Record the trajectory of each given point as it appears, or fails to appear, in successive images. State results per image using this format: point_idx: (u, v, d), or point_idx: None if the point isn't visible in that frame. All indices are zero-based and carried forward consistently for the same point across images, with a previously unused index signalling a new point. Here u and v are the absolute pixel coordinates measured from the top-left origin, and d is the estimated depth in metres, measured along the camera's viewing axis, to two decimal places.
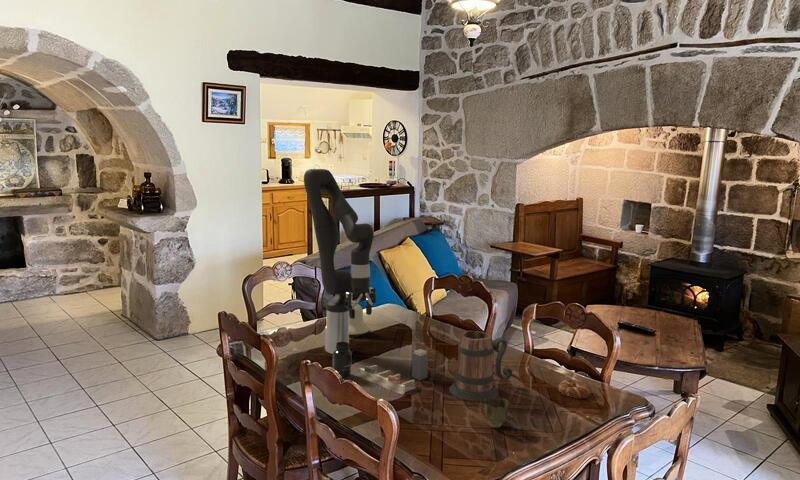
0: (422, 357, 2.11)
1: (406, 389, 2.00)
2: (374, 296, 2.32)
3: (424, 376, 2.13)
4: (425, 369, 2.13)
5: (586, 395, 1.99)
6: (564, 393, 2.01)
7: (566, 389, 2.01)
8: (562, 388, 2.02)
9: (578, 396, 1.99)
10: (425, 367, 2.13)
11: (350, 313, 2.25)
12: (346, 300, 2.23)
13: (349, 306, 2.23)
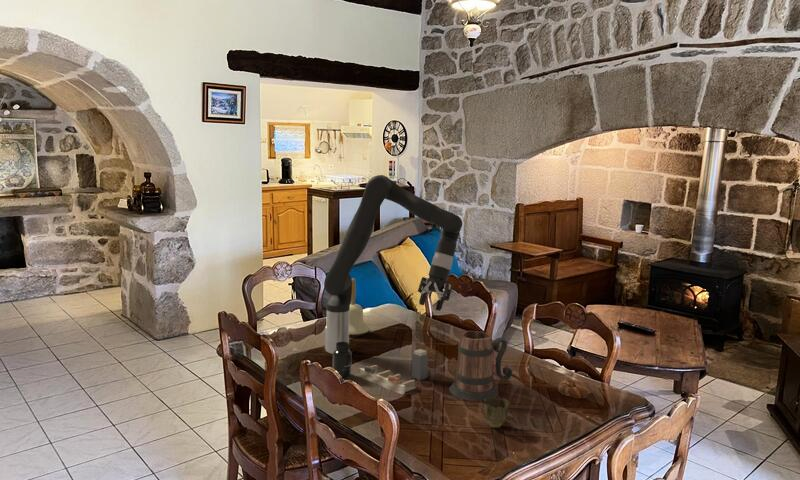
0: (422, 357, 2.11)
1: (406, 389, 2.00)
2: None
3: (424, 376, 2.13)
4: (425, 369, 2.13)
5: (586, 395, 1.99)
6: (564, 393, 2.01)
7: (566, 389, 2.01)
8: (562, 388, 2.02)
9: (578, 396, 1.98)
10: (425, 367, 2.13)
11: (441, 305, 2.18)
12: (448, 292, 2.17)
13: None
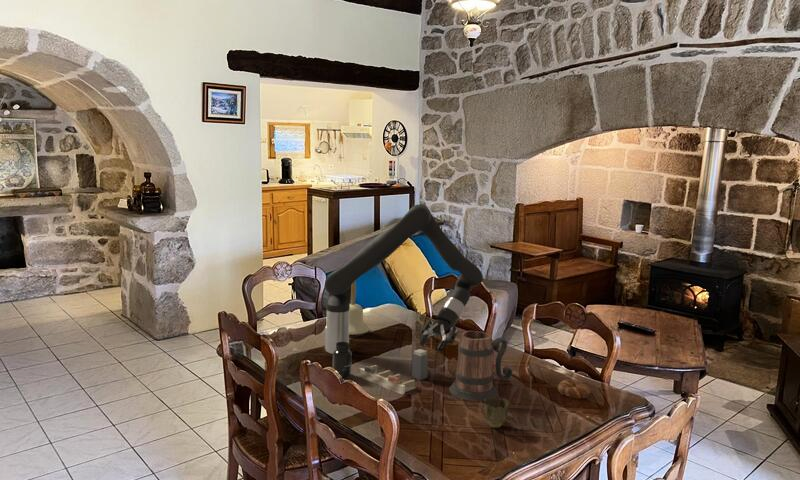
0: (422, 357, 2.11)
1: (406, 389, 2.00)
2: None
3: (424, 376, 2.13)
4: (425, 369, 2.13)
5: (585, 395, 1.99)
6: (563, 393, 2.01)
7: (566, 389, 2.01)
8: (562, 388, 2.02)
9: (577, 396, 1.98)
10: (425, 367, 2.13)
11: (443, 346, 2.14)
12: (453, 335, 2.14)
13: None
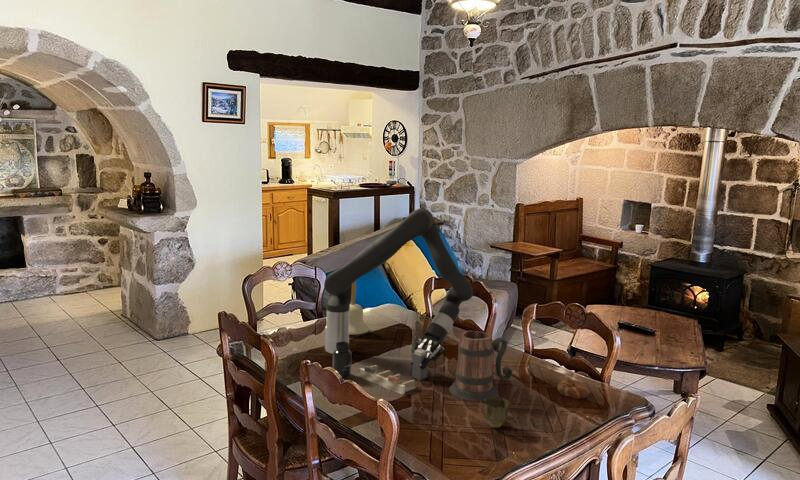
0: (422, 357, 2.11)
1: (406, 389, 2.00)
2: None
3: (424, 376, 2.13)
4: (425, 369, 2.13)
5: (585, 395, 1.99)
6: (563, 393, 2.01)
7: (565, 389, 2.01)
8: (561, 388, 2.02)
9: (577, 396, 1.98)
10: None
11: (426, 364, 2.11)
12: (438, 354, 2.11)
13: None
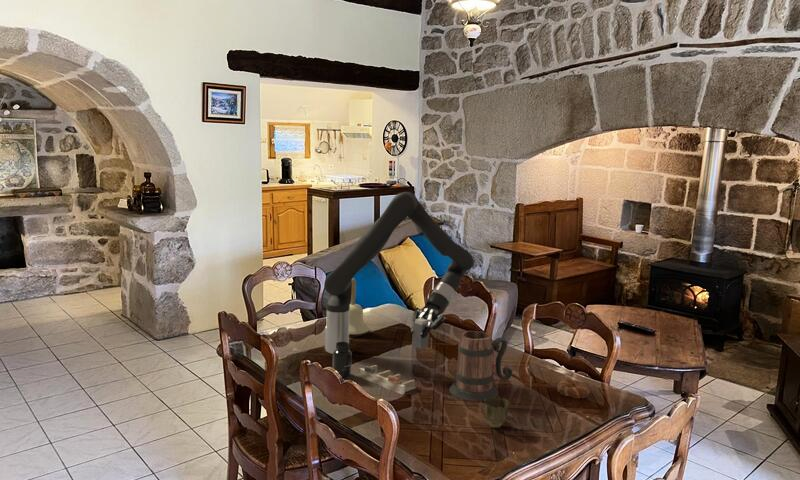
0: (423, 326, 2.09)
1: (406, 389, 2.00)
2: None
3: (425, 345, 2.11)
4: (426, 338, 2.11)
5: (585, 395, 1.99)
6: (563, 393, 2.01)
7: (565, 389, 2.01)
8: (561, 388, 2.02)
9: (577, 396, 1.98)
10: (426, 336, 2.11)
11: (427, 333, 2.09)
12: (439, 323, 2.09)
13: None
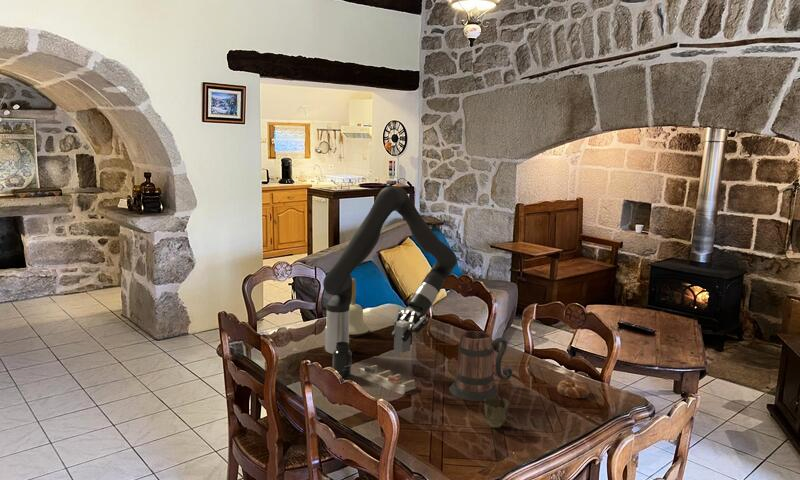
0: (404, 328, 1.99)
1: (406, 389, 2.00)
2: None
3: (407, 349, 2.01)
4: (408, 341, 2.01)
5: (585, 395, 1.99)
6: (563, 393, 2.01)
7: (565, 389, 2.01)
8: (561, 388, 2.02)
9: (577, 396, 1.98)
10: (408, 340, 2.01)
11: (408, 336, 1.99)
12: (421, 325, 1.99)
13: None
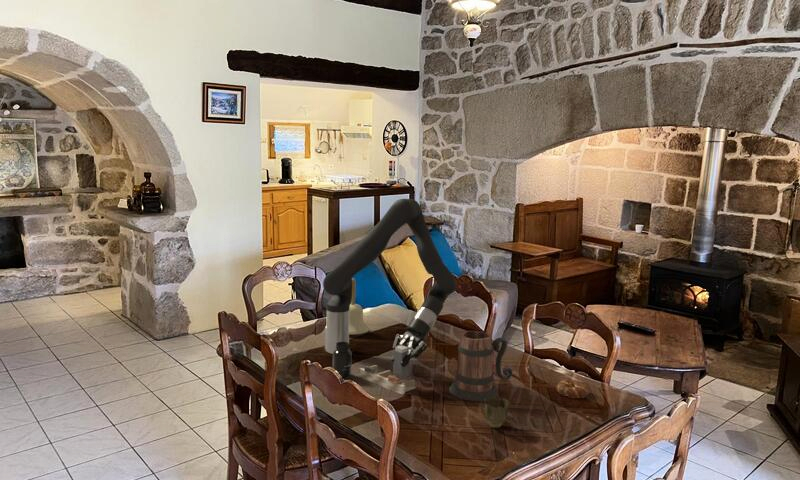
0: (403, 354, 2.00)
1: (406, 389, 2.00)
2: None
3: (406, 374, 2.02)
4: (407, 366, 2.02)
5: (584, 395, 1.98)
6: (562, 393, 2.01)
7: (564, 389, 2.01)
8: (560, 388, 2.02)
9: (576, 396, 1.98)
10: (407, 365, 2.02)
11: (407, 361, 2.00)
12: (420, 350, 2.00)
13: None
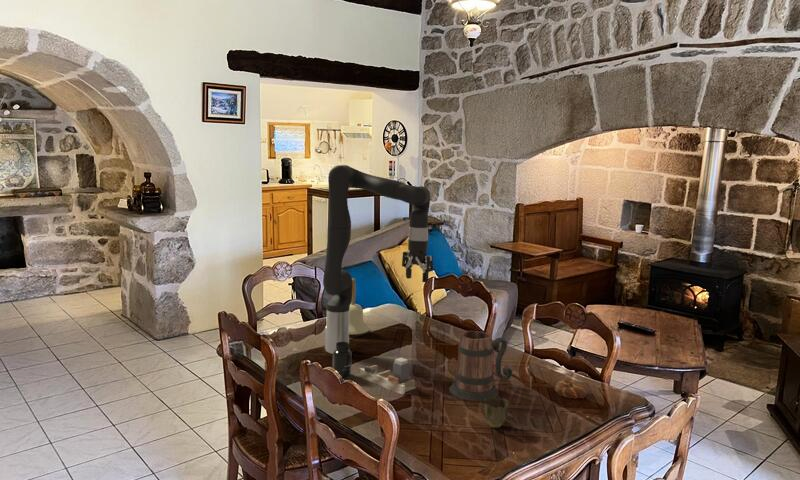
0: (403, 366, 2.01)
1: (406, 389, 2.00)
2: None
3: None
4: (406, 379, 2.03)
5: (582, 395, 1.98)
6: (560, 393, 2.00)
7: (562, 389, 2.01)
8: (559, 388, 2.01)
9: (574, 396, 1.98)
10: (406, 377, 2.03)
11: (427, 276, 2.24)
12: (430, 264, 2.22)
13: None
